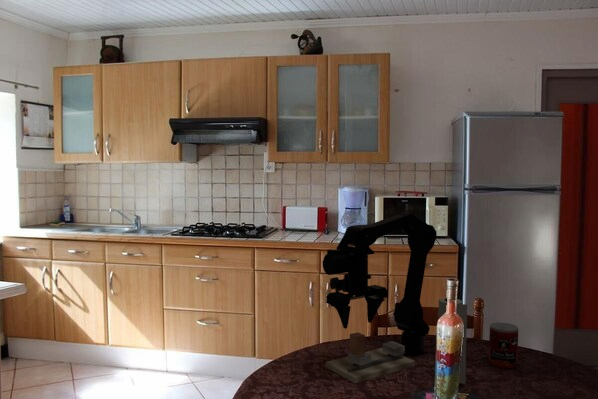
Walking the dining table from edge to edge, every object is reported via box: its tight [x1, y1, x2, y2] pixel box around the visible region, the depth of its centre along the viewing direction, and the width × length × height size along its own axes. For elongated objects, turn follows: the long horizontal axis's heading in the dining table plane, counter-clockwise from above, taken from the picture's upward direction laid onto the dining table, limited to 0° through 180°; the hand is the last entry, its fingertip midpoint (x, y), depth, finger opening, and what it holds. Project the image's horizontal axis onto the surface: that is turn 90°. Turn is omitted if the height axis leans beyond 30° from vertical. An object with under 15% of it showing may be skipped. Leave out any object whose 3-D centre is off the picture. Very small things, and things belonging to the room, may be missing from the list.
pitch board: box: [324, 340, 416, 384], centre depth 143 cm, size 22×13×5 cm, turn 124°
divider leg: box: [347, 332, 371, 366], centre depth 139 cm, size 4×5×8 cm
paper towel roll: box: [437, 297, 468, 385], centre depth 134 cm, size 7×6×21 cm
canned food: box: [488, 322, 519, 369], centre depth 146 cm, size 8×8×11 cm
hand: (357, 325), depth 143 cm, fingers open, 9 cm apart
